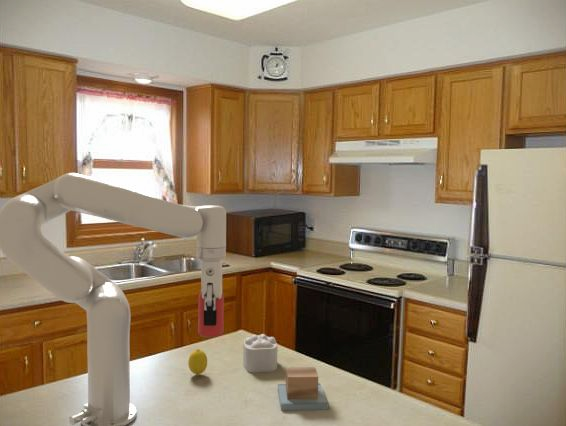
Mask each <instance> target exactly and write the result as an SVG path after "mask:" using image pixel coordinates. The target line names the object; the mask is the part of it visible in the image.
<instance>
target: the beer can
mask: <svg viewBox="0 0 566 426" xmlns="http://www.w3.org/2000/svg"><path fill="white" fill-rule="evenodd" d="M204 296H205V294H204ZM206 298H207V297H206ZM212 298H214V296H212ZM197 302H198V306H197V307H198V309H197V310H198V312H197V313H198V314H197V317H198V319H197V322H198V323H197V324H198V325H197V327H198V328H197V331H198V332H197V333H198V335H199V336H200V337H203V338H219V337H221V336H222V335H223V334H224V329H225V328H224V326H225V325H224V324H225V323H224V321H225V320H224V317H225V315H224V314H225V311H224V310H225V306H224V305H225V296H224V293H223V292H222V297H221V298H220V299H219V298H216V309H215V310H217V323H216V325H215V326H205V325H204V307H205V299H203V298H202V288H200V292H199V295H198V300H197ZM212 302H213V301H212Z"/></svg>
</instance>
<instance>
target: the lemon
mask: <svg viewBox="0 0 566 426" xmlns="http://www.w3.org/2000/svg"><path fill="white" fill-rule="evenodd" d="M207 367H208V357H207V354H206V352H205V351H204V350H201V349H200V348H196V349H195V350H193V351H192V352H191V353H190V355H189V357H188V368H189V370H190V372H192V374H195V375H196V376H199V375H200V374H202V373H204V372H205V371H206V369H207Z"/></svg>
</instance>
